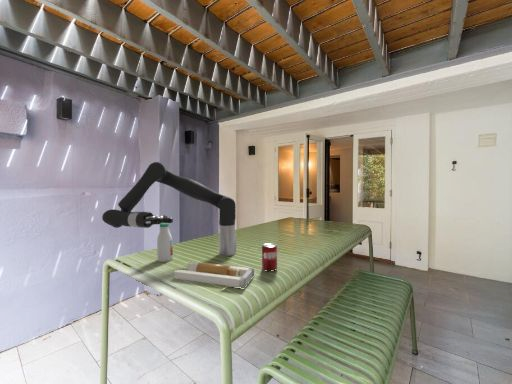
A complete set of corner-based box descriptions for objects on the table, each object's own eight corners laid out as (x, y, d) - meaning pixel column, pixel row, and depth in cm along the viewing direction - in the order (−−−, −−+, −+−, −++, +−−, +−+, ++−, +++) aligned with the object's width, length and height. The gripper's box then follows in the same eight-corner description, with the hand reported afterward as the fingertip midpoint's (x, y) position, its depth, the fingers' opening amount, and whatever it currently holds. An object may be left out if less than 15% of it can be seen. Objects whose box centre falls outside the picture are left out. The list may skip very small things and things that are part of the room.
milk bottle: (167, 262, 125) (166, 225, 124) (154, 261, 127) (153, 224, 126) (175, 258, 133) (174, 222, 132) (163, 257, 134) (162, 221, 133)
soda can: (261, 267, 119) (261, 243, 118) (275, 266, 119) (275, 242, 119) (262, 272, 111) (262, 247, 111) (278, 272, 112) (278, 246, 111)
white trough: (174, 280, 104) (174, 271, 103) (190, 269, 116) (190, 261, 116) (244, 289, 94) (244, 280, 94) (253, 277, 107) (253, 268, 106)
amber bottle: (202, 262, 110) (241, 266, 105) (201, 274, 109) (240, 279, 104) (196, 262, 105) (237, 267, 100) (195, 276, 104) (236, 281, 99)
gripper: (129, 213, 109) (161, 214, 104) (150, 209, 121) (179, 210, 116) (130, 230, 109) (162, 231, 104) (151, 224, 122) (180, 225, 117)
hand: (171, 220), depth 110 cm, fingers closed
